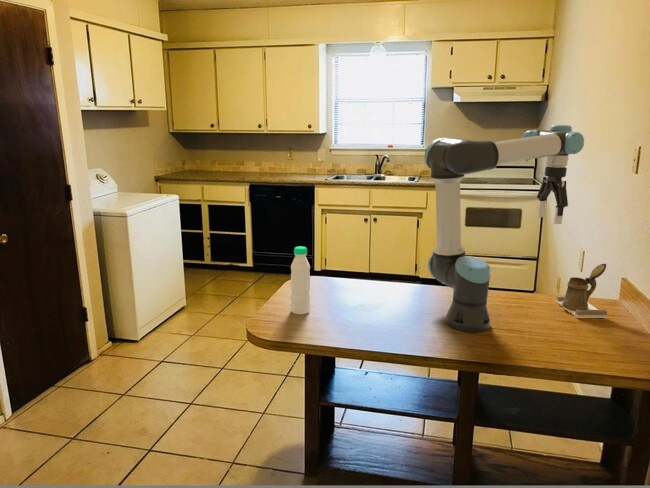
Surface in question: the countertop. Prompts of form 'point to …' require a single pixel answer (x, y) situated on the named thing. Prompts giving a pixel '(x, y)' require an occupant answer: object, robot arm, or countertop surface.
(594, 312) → the ledge board
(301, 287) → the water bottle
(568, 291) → the wooden mug
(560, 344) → the countertop surface
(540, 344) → the countertop surface
